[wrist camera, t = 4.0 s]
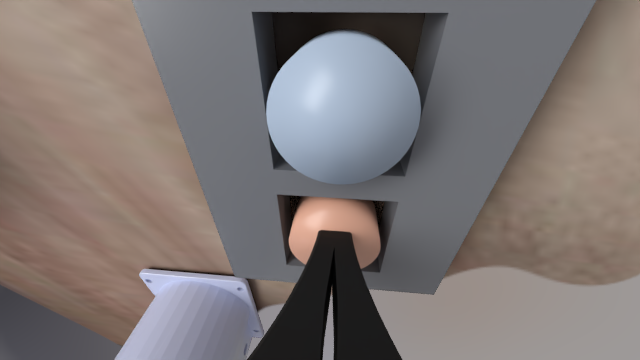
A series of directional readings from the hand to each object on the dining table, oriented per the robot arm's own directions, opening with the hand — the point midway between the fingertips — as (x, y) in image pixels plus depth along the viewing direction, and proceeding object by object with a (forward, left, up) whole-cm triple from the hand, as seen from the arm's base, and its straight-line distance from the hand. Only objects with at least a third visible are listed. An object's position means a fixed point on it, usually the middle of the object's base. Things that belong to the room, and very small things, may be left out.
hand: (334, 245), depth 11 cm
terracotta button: (0, 0, -2) cm, 2 cm away
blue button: (+6, 0, -1) cm, 6 cm away
